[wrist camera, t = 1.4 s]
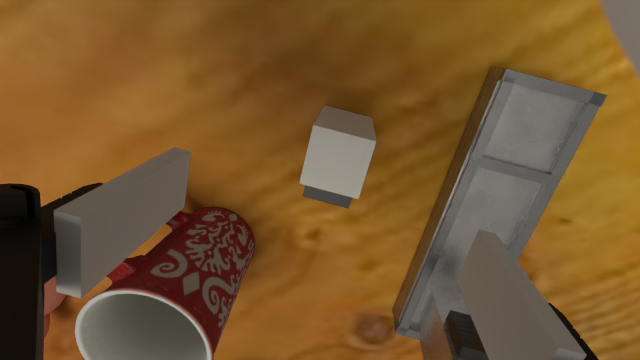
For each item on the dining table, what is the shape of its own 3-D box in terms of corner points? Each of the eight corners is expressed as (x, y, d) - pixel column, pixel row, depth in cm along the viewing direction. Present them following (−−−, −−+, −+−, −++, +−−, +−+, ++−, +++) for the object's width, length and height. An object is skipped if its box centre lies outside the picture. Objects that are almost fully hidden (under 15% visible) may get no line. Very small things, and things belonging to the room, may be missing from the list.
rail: (490, 66, 27) (565, 77, 17) (580, 90, 27) (707, 114, 17) (392, 310, 36) (405, 409, 26) (460, 328, 36) (498, 435, 26)
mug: (282, 260, 35) (238, 380, 22) (207, 290, 37) (130, 414, 25) (212, 149, 32) (116, 216, 19) (136, 189, 34) (4, 272, 21)
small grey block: (325, 105, 29) (313, 124, 22) (372, 117, 29) (376, 141, 22) (311, 161, 31) (296, 197, 24) (355, 172, 31) (354, 212, 24)
